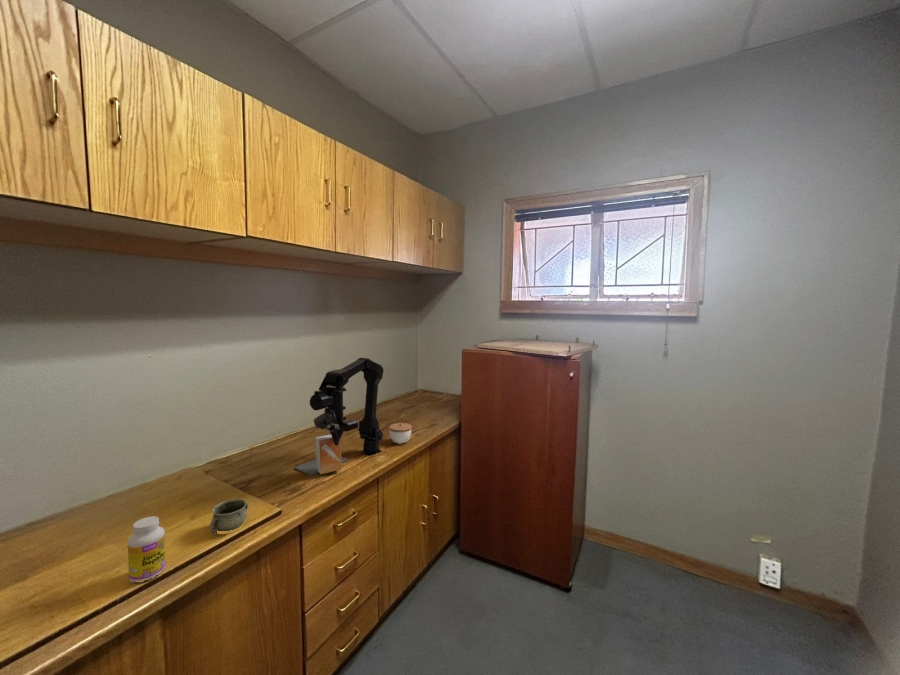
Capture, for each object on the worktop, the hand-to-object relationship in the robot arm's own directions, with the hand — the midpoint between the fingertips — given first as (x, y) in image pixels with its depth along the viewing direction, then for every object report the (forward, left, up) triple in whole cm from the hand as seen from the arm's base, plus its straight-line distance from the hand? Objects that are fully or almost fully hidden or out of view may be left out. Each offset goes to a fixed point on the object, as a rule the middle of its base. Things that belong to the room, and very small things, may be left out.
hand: (336, 445), depth 136 cm
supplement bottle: (+59, +6, -12) cm, 61 cm away
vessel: (+39, +2, -12) cm, 41 cm away
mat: (-3, -12, -12) cm, 17 cm away
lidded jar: (-41, -4, -12) cm, 43 cm away
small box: (0, -4, -11) cm, 12 cm away
